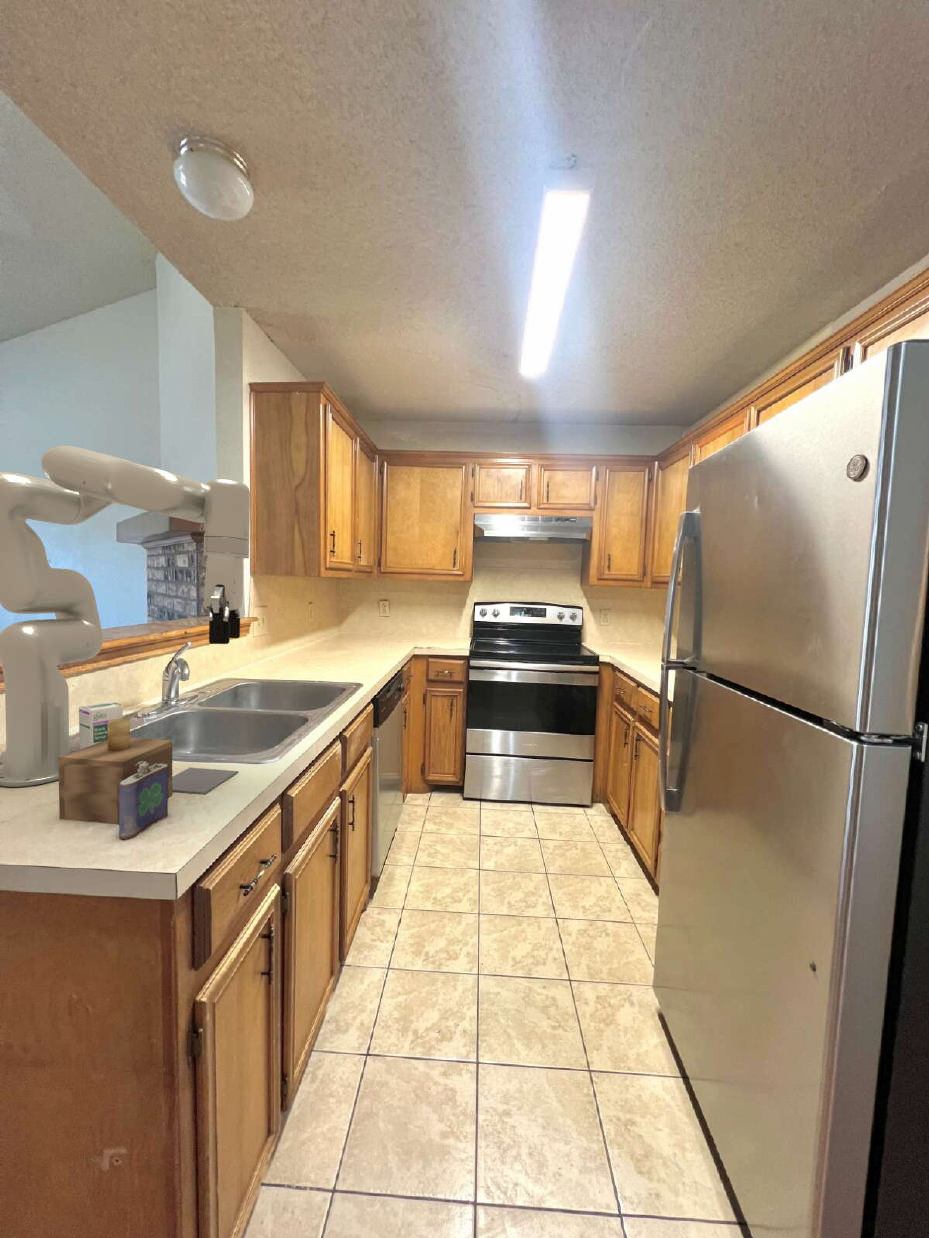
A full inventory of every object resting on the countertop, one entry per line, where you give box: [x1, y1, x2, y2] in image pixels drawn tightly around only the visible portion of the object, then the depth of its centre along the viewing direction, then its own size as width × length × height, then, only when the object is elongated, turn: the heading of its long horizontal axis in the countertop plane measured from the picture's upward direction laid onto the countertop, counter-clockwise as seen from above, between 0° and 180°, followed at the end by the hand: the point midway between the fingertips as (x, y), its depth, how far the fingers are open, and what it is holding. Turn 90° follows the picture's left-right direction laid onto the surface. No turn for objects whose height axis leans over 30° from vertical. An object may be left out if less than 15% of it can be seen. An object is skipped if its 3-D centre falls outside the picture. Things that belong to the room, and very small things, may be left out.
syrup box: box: [78, 700, 124, 750], centre depth 98 cm, size 6×6×14 cm
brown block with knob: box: [58, 717, 173, 825], centre depth 84 cm, size 12×12×16 cm
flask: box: [118, 761, 169, 841], centre depth 78 cm, size 9×3×11 cm, turn 173°
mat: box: [172, 767, 239, 796], centre depth 97 cm, size 11×11×1 cm
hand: (225, 640), depth 89 cm, fingers open, 9 cm apart
